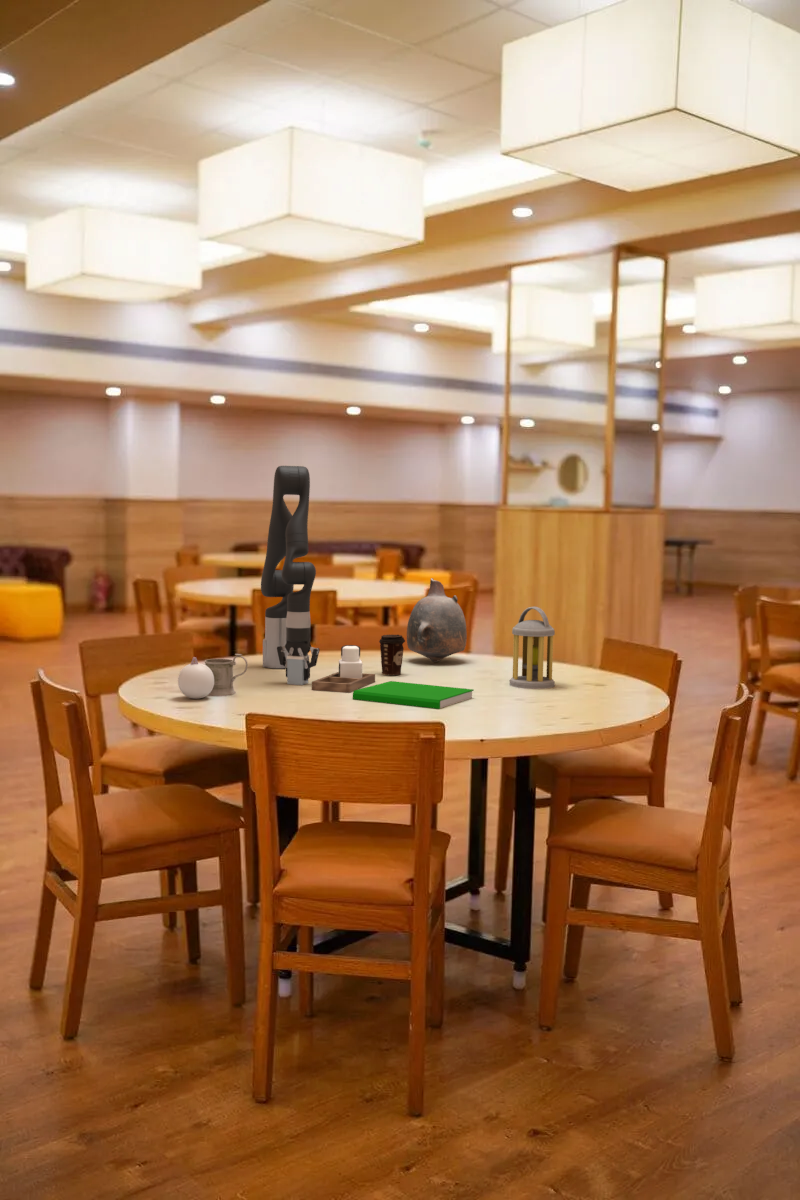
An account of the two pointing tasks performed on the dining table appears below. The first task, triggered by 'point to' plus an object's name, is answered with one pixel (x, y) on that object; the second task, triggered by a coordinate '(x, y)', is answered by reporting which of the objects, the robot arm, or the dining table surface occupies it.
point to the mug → (223, 675)
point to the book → (413, 694)
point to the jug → (436, 625)
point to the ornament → (196, 680)
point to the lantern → (533, 652)
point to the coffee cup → (391, 654)
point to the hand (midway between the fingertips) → (297, 679)
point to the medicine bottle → (350, 662)
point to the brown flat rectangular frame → (342, 683)
